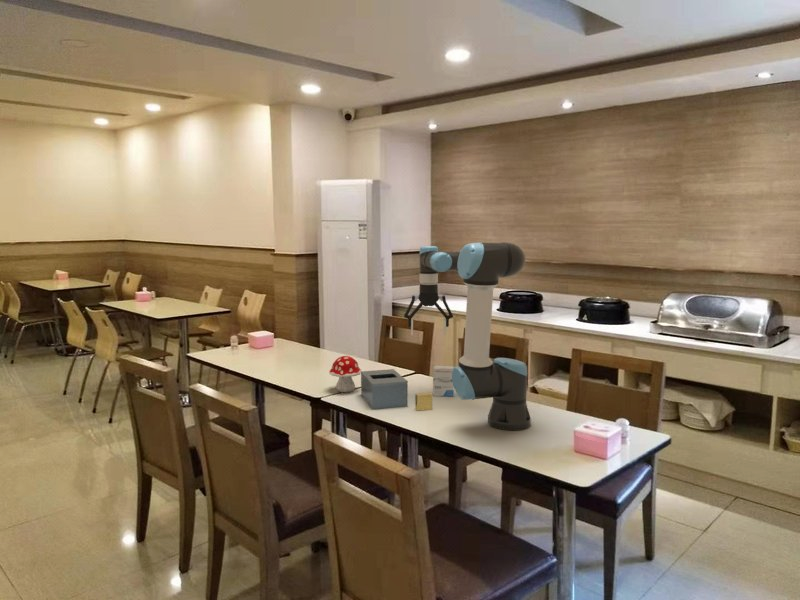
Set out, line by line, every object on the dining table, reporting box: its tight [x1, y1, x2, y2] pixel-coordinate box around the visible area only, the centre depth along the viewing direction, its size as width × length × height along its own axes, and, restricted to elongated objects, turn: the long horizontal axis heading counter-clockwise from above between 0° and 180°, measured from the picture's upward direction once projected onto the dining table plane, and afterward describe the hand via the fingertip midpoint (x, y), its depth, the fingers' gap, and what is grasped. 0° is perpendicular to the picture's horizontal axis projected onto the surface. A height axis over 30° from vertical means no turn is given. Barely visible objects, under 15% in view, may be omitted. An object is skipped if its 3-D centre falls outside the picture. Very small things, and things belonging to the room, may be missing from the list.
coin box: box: [360, 368, 409, 410], centre depth 238 cm, size 20×14×10 cm
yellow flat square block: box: [414, 392, 433, 412], centre depth 227 cm, size 2×6×6 cm, turn 106°
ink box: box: [432, 365, 455, 397], centre depth 246 cm, size 8×5×12 cm, turn 84°
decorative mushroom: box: [328, 355, 362, 393], centre depth 251 cm, size 14×14×15 cm
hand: (428, 334), depth 246 cm, fingers open, 13 cm apart
